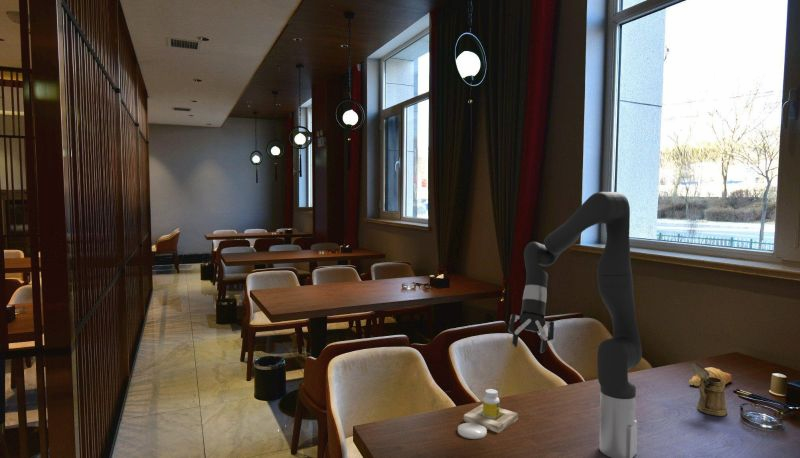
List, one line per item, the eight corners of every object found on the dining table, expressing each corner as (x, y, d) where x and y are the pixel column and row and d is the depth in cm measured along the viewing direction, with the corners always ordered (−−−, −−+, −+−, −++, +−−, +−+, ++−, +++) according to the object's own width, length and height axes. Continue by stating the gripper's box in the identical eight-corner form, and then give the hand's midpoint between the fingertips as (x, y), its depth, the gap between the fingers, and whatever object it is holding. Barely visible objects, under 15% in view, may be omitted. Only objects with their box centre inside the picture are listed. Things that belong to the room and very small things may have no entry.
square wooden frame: (518, 419, 160) (518, 413, 160) (498, 432, 150) (498, 426, 150) (484, 408, 169) (484, 403, 169) (463, 420, 159) (463, 414, 159)
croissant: (695, 397, 189) (704, 383, 185) (676, 378, 197) (684, 364, 193) (736, 390, 195) (745, 376, 191) (716, 372, 203) (724, 358, 199)
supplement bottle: (499, 424, 156) (499, 394, 156) (482, 423, 157) (482, 393, 157) (499, 417, 162) (499, 388, 161) (482, 416, 163) (483, 387, 162)
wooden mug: (681, 409, 169) (682, 358, 168) (708, 404, 173) (710, 354, 173) (705, 420, 160) (706, 366, 160) (733, 414, 165) (735, 362, 164)
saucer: (492, 431, 151) (492, 428, 151) (476, 441, 145) (476, 438, 145) (467, 423, 157) (467, 420, 157) (452, 432, 150) (452, 429, 150)
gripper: (515, 294, 157) (508, 344, 152) (559, 303, 156) (554, 353, 151) (510, 298, 164) (504, 346, 159) (552, 307, 163) (547, 355, 158)
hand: (528, 349), depth 155 cm, fingers open, 8 cm apart
